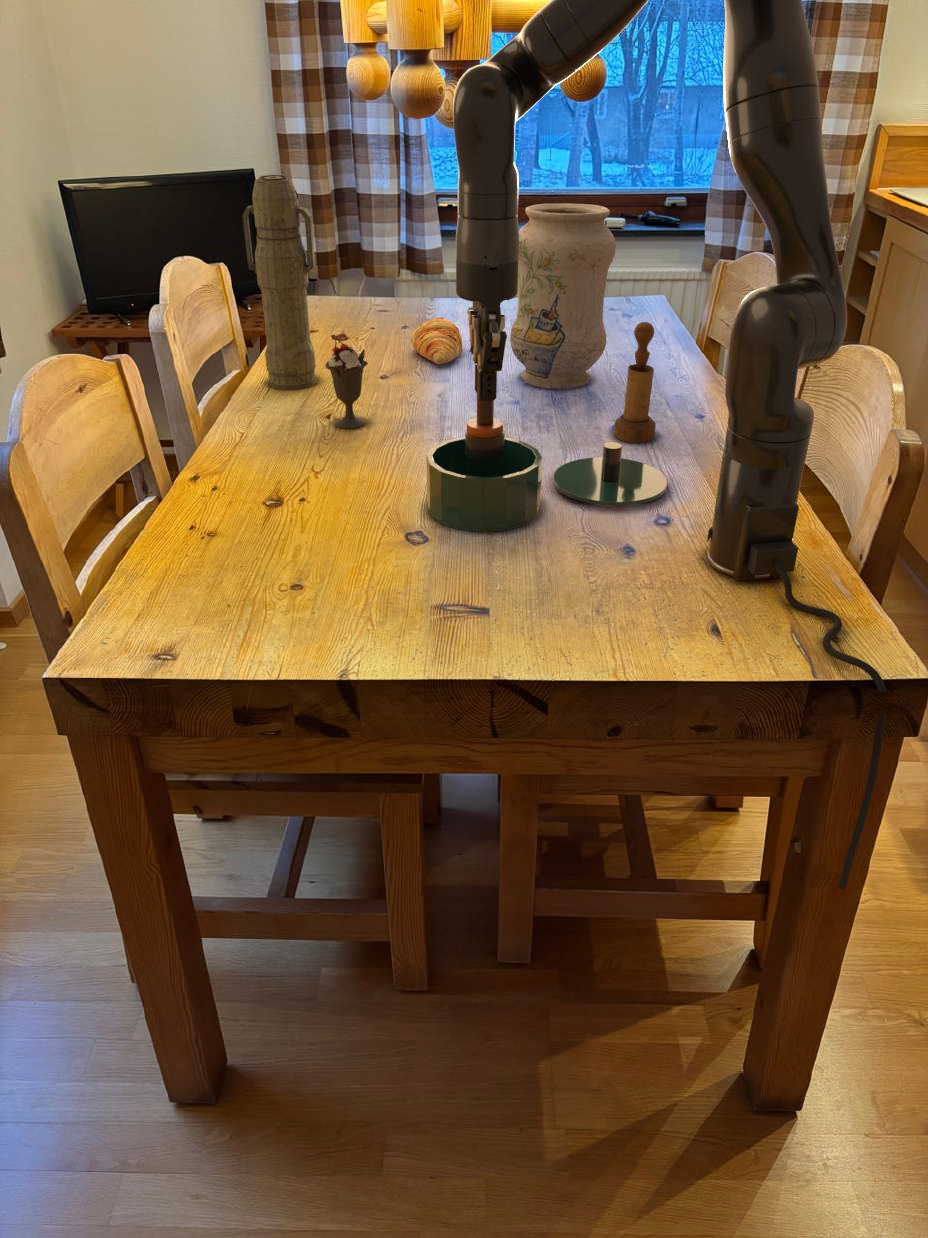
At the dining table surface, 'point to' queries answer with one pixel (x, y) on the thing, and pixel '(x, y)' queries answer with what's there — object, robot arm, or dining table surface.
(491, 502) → the pot
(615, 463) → the lid
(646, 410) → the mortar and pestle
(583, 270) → the vase
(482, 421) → the brush
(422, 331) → the croissant
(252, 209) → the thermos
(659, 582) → the dining table surface
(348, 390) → the sundae
